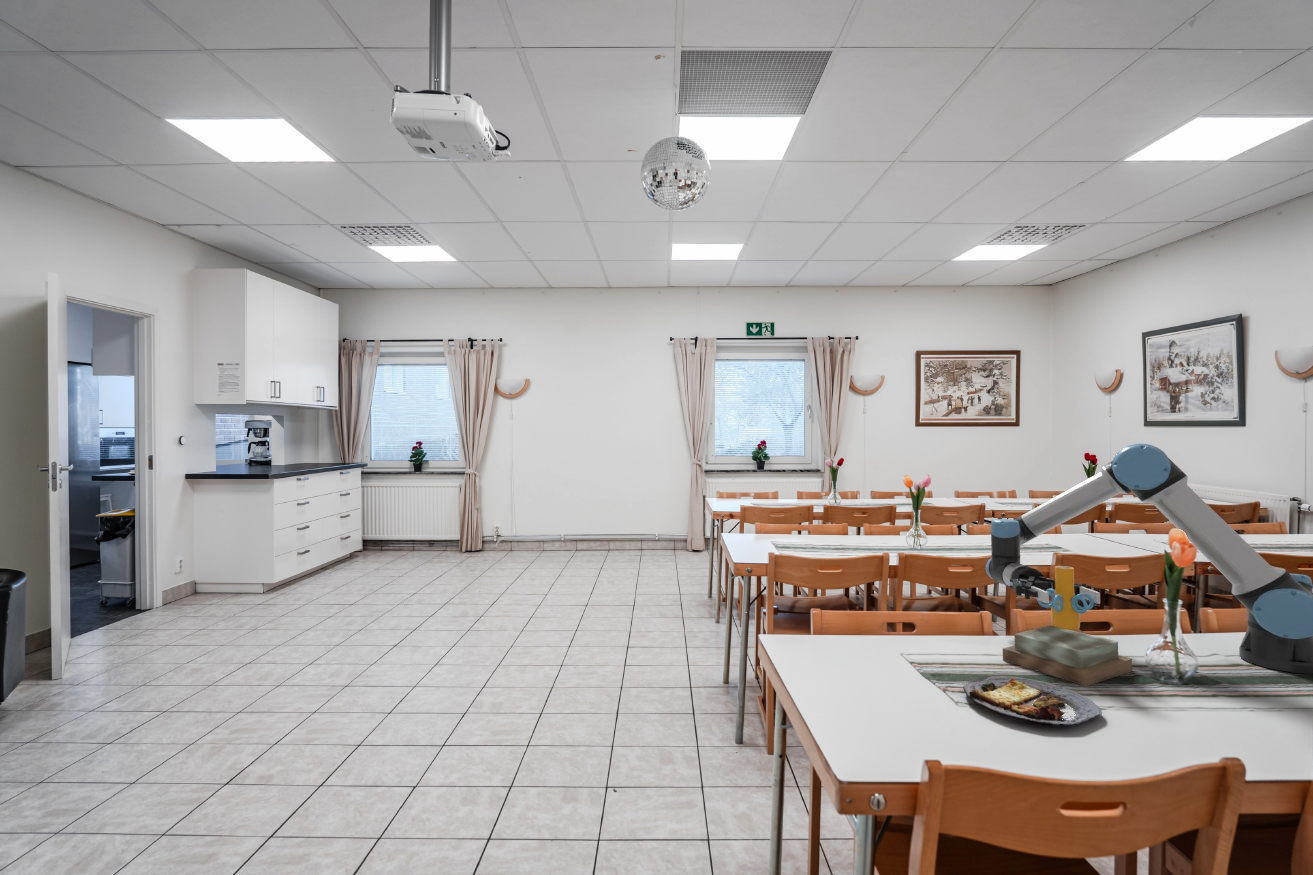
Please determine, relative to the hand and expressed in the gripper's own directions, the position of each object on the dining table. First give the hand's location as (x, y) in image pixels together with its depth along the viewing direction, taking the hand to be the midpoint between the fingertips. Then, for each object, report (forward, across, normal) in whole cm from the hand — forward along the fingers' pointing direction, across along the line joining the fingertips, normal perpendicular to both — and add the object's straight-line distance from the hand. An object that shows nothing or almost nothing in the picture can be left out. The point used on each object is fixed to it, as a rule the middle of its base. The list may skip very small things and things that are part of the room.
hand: (1072, 598), depth 148 cm
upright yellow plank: (-3, 0, -8) cm, 9 cm away
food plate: (+21, +23, -18) cm, 36 cm away
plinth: (-4, 0, -18) cm, 18 cm away
